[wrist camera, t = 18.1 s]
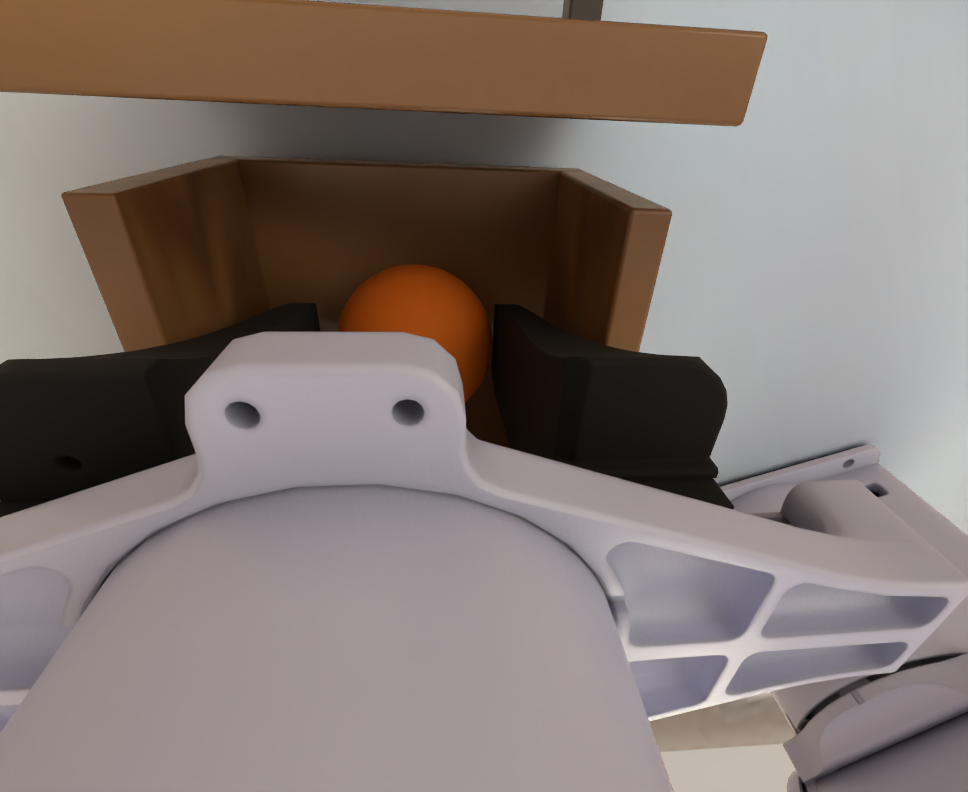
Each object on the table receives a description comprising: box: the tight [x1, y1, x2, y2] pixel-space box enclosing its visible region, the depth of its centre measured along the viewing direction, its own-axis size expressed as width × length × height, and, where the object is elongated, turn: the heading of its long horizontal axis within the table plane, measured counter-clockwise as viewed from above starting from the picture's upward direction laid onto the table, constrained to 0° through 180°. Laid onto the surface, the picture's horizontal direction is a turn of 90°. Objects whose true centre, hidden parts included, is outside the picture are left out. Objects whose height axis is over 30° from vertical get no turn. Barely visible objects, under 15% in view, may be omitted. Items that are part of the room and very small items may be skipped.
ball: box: [337, 264, 493, 403], centre depth 13 cm, size 4×4×4 cm
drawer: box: [0, 0, 767, 448], centre depth 11 cm, size 18×11×7 cm, turn 178°
